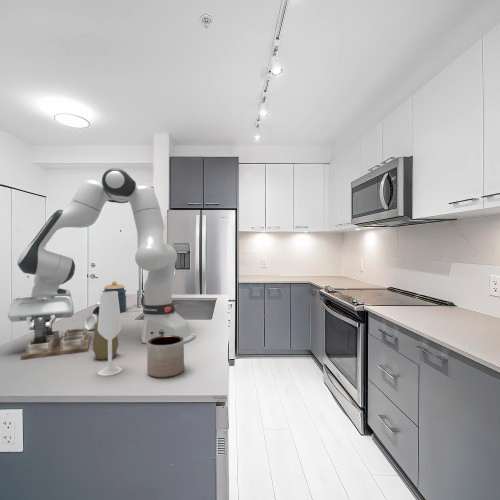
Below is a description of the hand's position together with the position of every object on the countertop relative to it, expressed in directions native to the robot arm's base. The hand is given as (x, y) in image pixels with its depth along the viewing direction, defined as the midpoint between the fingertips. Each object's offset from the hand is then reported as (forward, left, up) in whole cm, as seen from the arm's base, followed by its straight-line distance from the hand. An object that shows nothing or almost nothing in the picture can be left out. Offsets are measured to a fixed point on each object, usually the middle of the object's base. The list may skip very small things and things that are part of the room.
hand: (39, 328), depth 112 cm
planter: (-51, -3, -9) cm, 52 cm away
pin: (0, 0, -5) cm, 5 cm away
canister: (+31, -66, -9) cm, 73 cm away
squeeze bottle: (-24, -6, -9) cm, 27 cm away
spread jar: (+9, -35, -9) cm, 37 cm away
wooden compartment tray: (+1, -8, -9) cm, 12 cm away
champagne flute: (-35, +3, -9) cm, 37 cm away
